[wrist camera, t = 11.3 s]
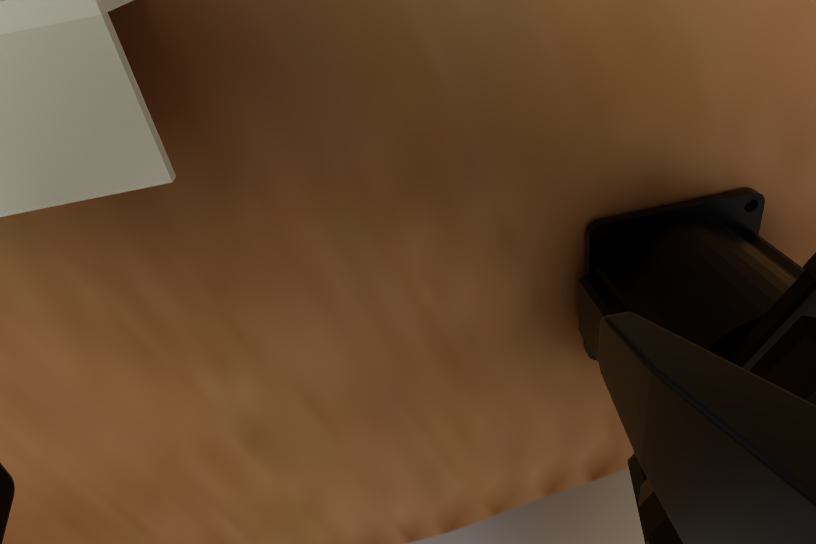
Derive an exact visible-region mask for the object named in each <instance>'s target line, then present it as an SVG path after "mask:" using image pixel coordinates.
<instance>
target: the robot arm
mask: <svg viewBox="0 0 816 544" xmlns="http://www.w3.org/2000/svg"><path fill="white" fill-rule="evenodd" d="M750 200H751V201H750ZM748 201H750V203H749V204H748V205H747V206H745V204H746V203H747V202H748ZM764 204H765V198H764V197H763V195H762V194H760V193H758V192H757V191H755V190H753V189H743V190H738V191H733V192H729V193H724V194H719V195H714V196H709V197H704V198H699V199H694V200H690V201H685V202H680V203H675V204H670V205H665V206H660V207H655V208H651V209H646V210H641V211H636V212H631V213H626V214H621V215H616V216H612V217H607V218H602V219H598V220H595V221H593V222H592V223H591V224H589V226H588V227H587V229H586V232H585V274H584V275H582V277H581V278H580V280H579V331H580V333H581V334H582V336H583V338H584V348H585V351H586V353H587V354H588V356H589V357H590V358H591V359H593V360H597V361H598V362H599V366H600V370H601V374H602V376H603V379H604V381H605V383H606V386H607V388H608V391H609V393H610V395H611V398H612V400H613V402H614V405H615V407H616V410H617V412H618V414H619V417H620V419H621V421H622V424H623V426H624V429H625V431H626V433H627V436H628V438H629V440H630V443H631V445H632V448H633V450H634V452H635V453H634V454H633V455H632V456H631V457H630V458H629V459H628V465H629V470H630V475H631V479H632V484H633V489H634V493H635V498H636V502H637V506H638V512H639V516H640V521H641V526H642V530H643V534H644V540H645V544H816V253H815V254H814V255H813V256H812V257H811V258H810V259H809V260H808V262H807V263H806V264H805V265H804V266H803V268H804V269H803V268H802V267H801V266H799V265H798V264H797V263H795V262H794V261H793V260H791V259H790V258H788V257H787V256H786V255H784V254H783V253H782V252H780V251H779V250H778V249H776V248H775V247H774V246H772V245H771V244H770V243H768V242H767V241H765V240H764V239H763V238H761V237H760V236H759V235H758V234H759V229H760V224H761V219H762V214H763V209H764ZM602 230H605V233H604V234H603V235H602V236H600V237H596V236H597V234H598V233H599V232H600V231H602ZM14 491H15V487H14V481H13V479H12V477H11V475H10V474H9V473H8V472H7V470H6V469H5V468H4V467H3V466H2V464H1V463H0V544H2V541H3V537H4V533H5V529H6V525H7V521H8V517H9V513H10V509H11V505H12V501H13V497H14Z"/></svg>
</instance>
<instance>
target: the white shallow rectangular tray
mask: <svg viewBox="0 0 816 544" xmlns="http://www.w3.org/2000/svg"><path fill="white" fill-rule="evenodd" d="M132 1H134V0H0V217H4V216H9V215H14V214H19V213H24V212H29V211H34V210H39V209H44V208H48V207H53V206H58V205H63V204H68V203H73V202H78V201H83V200H88V199H93V198H98V197H103V196H108V195H113V194H118V193H123V192H128V191H133V190H138V189H143V188H148V187H153V186H157V185H162V184H167V183H172V182H173V181H174V179H175V177H176V175H175V173H174V170H173V168H172V166H171V163H170V161H169V158H168V156H167V154H166V151H165V149H164V146H163V144H162V142H161V139H160V137H159V134H158V132H157V130H156V127H155V125H154V122H153V120H152V118H151V115H150V113H149V110H148V108H147V106H146V103H145V101H144V98H143V96H142V94H141V91H140V89H139V86H138V84H137V82H136V79H135V77H134V74H133V72H132V70H131V67H130V65H129V62H128V60H127V58H126V55H125V53H124V50H123V48H122V46H121V43H120V41H119V38H118V36H117V34H116V31H115V29H114V26H113V24H112V22H111V19H110V17H109V15H108V12H109V11H111V10H113V9H116V8H118V7H120V6H122V5H125V4H127V3H129V2H132Z"/></svg>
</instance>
